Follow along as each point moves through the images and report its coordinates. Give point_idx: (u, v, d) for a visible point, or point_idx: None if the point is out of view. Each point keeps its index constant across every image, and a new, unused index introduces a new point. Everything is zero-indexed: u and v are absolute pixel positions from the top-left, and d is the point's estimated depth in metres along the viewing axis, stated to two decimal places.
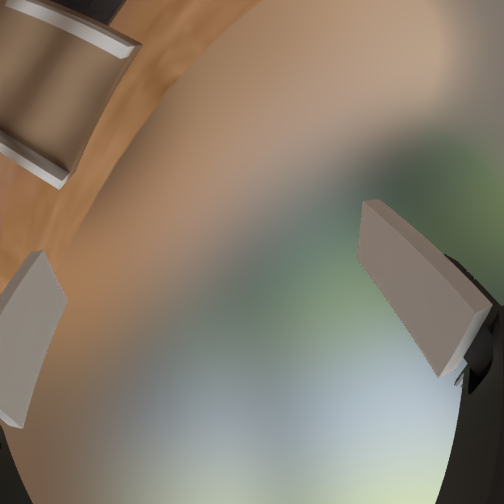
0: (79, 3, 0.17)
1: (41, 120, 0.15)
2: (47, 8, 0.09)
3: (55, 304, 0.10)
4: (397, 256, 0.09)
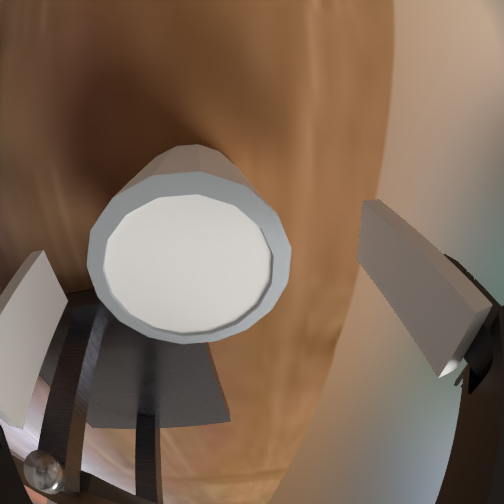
0: (142, 350, 0.19)
1: None
2: None
3: (55, 304, 0.10)
4: (397, 256, 0.09)
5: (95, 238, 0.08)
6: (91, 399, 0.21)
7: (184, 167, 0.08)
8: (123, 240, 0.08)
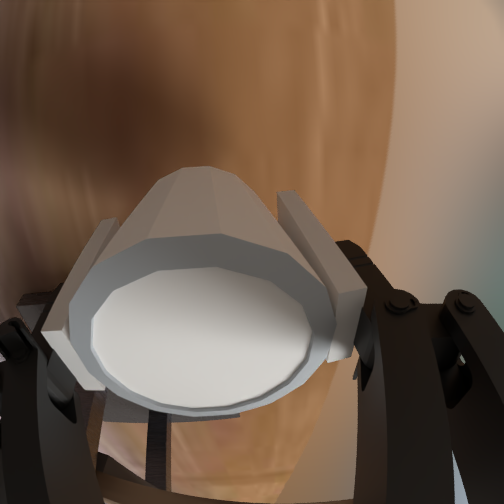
0: None
1: None
2: None
3: None
4: (295, 242, 0.10)
5: (76, 314, 0.06)
6: None
7: (195, 220, 0.06)
8: (113, 318, 0.06)
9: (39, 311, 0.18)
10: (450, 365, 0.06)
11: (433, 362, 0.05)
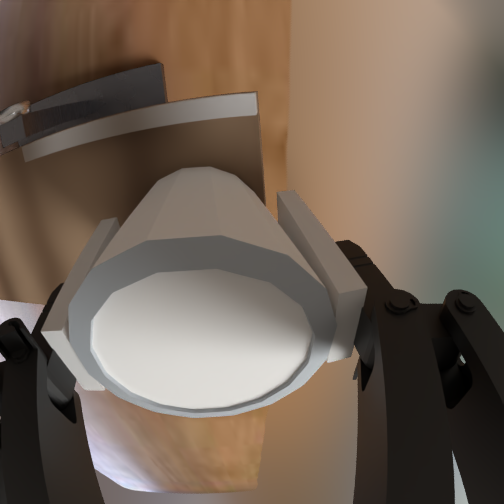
0: None
1: None
2: (85, 124, 0.10)
3: None
4: (295, 242, 0.10)
5: (75, 316, 0.06)
6: None
7: (194, 221, 0.06)
8: (113, 320, 0.06)
9: (31, 110, 0.19)
10: (450, 365, 0.06)
11: (433, 362, 0.05)
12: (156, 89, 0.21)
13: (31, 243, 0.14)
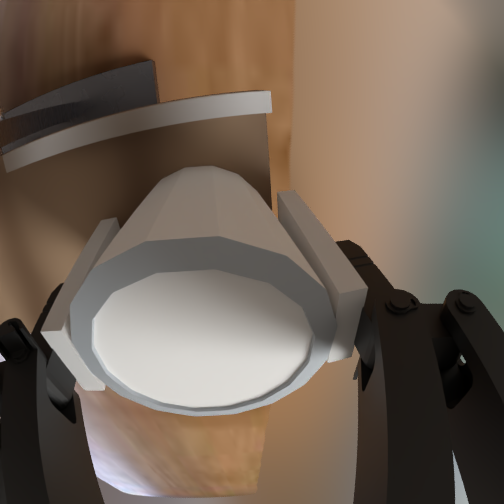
0: None
1: None
2: (81, 124, 0.09)
3: None
4: (295, 242, 0.10)
5: (77, 315, 0.06)
6: None
7: (194, 222, 0.06)
8: (114, 319, 0.06)
9: (14, 115, 0.17)
10: (450, 365, 0.06)
11: (434, 362, 0.05)
12: (146, 89, 0.19)
13: (12, 266, 0.12)
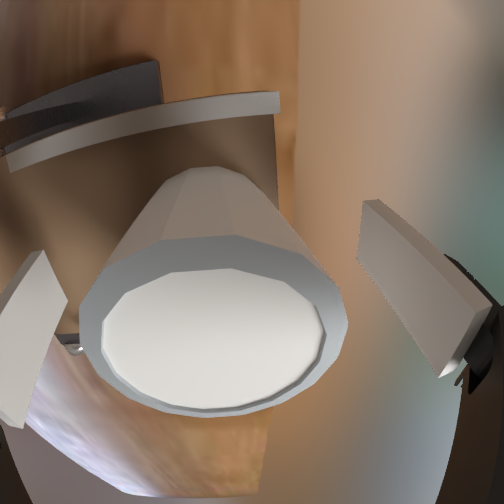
0: None
1: None
2: (87, 124, 0.09)
3: (55, 304, 0.10)
4: (397, 256, 0.09)
5: (86, 317, 0.06)
6: None
7: (208, 221, 0.06)
8: (125, 321, 0.06)
9: (17, 114, 0.17)
10: None
11: None
12: (150, 89, 0.19)
13: (15, 267, 0.12)
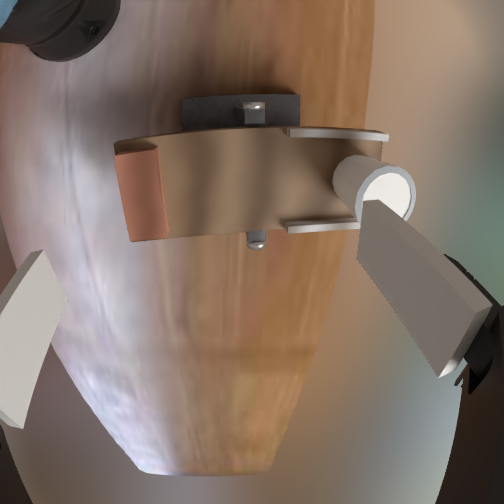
0: None
1: None
2: (330, 130, 0.26)
3: (55, 304, 0.10)
4: (397, 256, 0.09)
5: (366, 182, 0.23)
6: None
7: (391, 165, 0.23)
8: (374, 184, 0.23)
9: (199, 101, 0.35)
10: None
11: None
12: (295, 111, 0.37)
13: (254, 185, 0.29)
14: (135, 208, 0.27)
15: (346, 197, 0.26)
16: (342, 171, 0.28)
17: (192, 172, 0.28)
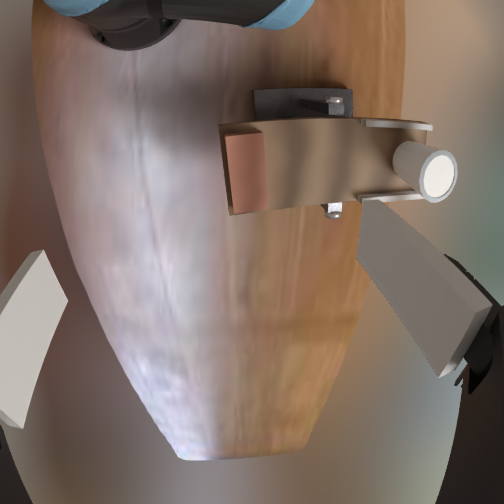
0: (328, 116, 0.42)
1: None
2: (393, 121, 0.31)
3: (55, 304, 0.10)
4: (397, 256, 0.09)
5: (426, 162, 0.28)
6: None
7: (441, 149, 0.28)
8: (431, 164, 0.28)
9: (270, 93, 0.39)
10: None
11: None
12: (348, 103, 0.41)
13: (336, 165, 0.34)
14: (242, 183, 0.32)
15: (409, 173, 0.31)
16: (402, 154, 0.32)
17: (288, 153, 0.33)
